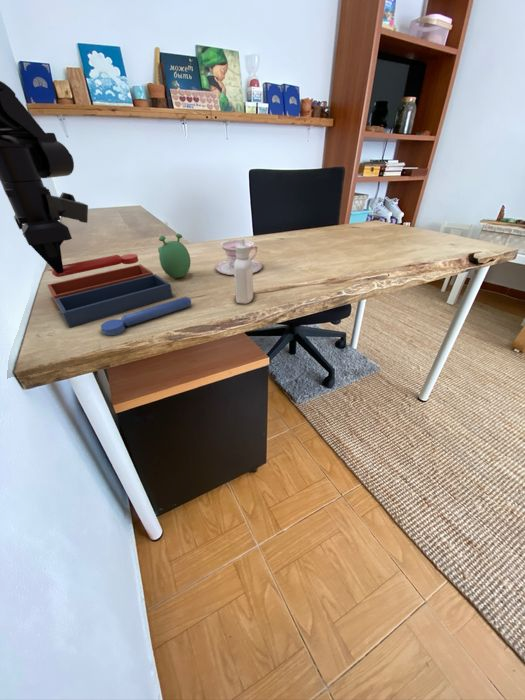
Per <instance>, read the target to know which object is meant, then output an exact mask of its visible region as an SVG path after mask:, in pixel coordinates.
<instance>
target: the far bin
mask: <svg viewBox="0 0 525 700" xmlns="http://www.w3.org/2000/svg"><path fill="white" fill-rule="evenodd" d="M150 275H154V272H153V271H152V270H150V269H148V268H147V267H145V266H144V265H142V264H141V263H140V264H135V265H132V266H131V265H130V266H126V267H122V268H116V269H112V270H108V271H107V270H106V271H104V272H103V271H102V272H99V273H94V274H89V275H85V276H81V277H75V278H71V279H68V280H67V279H66V280H62V281H57V282H53V283H49V284H46V285H47V287H48V290H49V292H50V294H51V297H52V298H53V300H54V303H55V304H56V306H57V308H58V309H59V307H58V304H57V302H56V300H55V299H56V298H60V297H64V296H68V295H72V294H76V293H80V292H84V291H89V290H93V289H97V288H101V287H105V286H109V285H113V284H117V283H121V282H125V281H129V280H133V279H138V278H142V277H146V276H150Z"/></svg>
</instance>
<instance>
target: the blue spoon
mask: <svg viewBox="0 0 525 700" xmlns="http://www.w3.org/2000/svg"><path fill="white" fill-rule="evenodd" d="M191 305H192V300H191V298H190V297H188V296H183V297H180V298H176V299H173V300H170V301H167V302H164V303H161V304H157V305H154V306H150V307H147V308H144V309H140V310H138V311H134V312H131V313H127V314H124V315H122V317H121V318H119V319H117V318H115V319H109V320H106V321H105V322H103V323H101V325H100V329H101V332H102V334H103V335H104V336H117V335H119V334H121V333H123V332H124V331H125V330H126V327H132V326H134V325H137V324H140V323H143V322H146V321H149V320H153V319H155V318H159V317H162V316H164V315H168V314H171V313H174V312H177V311H180V310H183V309H186V308H189V307H191Z"/></svg>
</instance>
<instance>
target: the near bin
mask: <svg viewBox="0 0 525 700" xmlns="http://www.w3.org/2000/svg"><path fill="white" fill-rule="evenodd" d="M170 298H174V297H173V293H172V287H171V284H170V283H169V282H168V281H166V280H164V279H163V278H161V277H160V276H159V275H157V274H156V273H153V275H150V276H146V277H142V278H138V279H133V280H129V281H125V282H121V283H117V284H113V285H109V286H105V287H101V288H97V289H93V290H89V291H84V292H80V293H76V294H72V295H68V296H64V297H60V298H56V299H55V300H56V302H57V304H58V306H57V308H58V307H59V308H58V309H59V311H60V314H61V315H62V317H63V319H64V320H65V322H66V324H67V326H68V328H73V327H76V326H80V325H84V324H86V323H90V322H93V321H97V320H100V319H103V318H107V317H110V316H113V315H117V314H121V313H123V312H126V311H130V310H133V309H136V308H137V309H138V308H140V307H144V306H147V305H150V304H154V303H157V302H161V301H163V300H167V299H170ZM55 300H54V301H55ZM56 302H55V303H56ZM57 304H56V305H57Z"/></svg>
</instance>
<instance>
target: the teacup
mask: <svg viewBox="0 0 525 700" xmlns="http://www.w3.org/2000/svg"><path fill="white" fill-rule="evenodd" d="M244 242H245V244H246V245H248V246H249V254H251V251H253V250H255V251H254V254H253V256H252V257H250V259H251V260H252V269H253V274H255V273H258V272H259V271H260V270H262V268H263V264H262V263H261V262H259V260H255V257H256V256H257V254H258V246H254V245H255V242H253V241H251V240H246V239H244ZM239 243H240V239H234V240H232V239H231V240H226V241H223V242H221V243H220V244H219V245H220V247H221V248H222V249H223V250H224V251H225V255H226V256H227V259H226V260H223V261H220V262H219V263H217V264H216V265H215V270H216V271H217V272H218V273H221V274H223V275H227V276H228V275H229V276H234V262H235V260H236V259H237V257H236V246H237V245H239Z"/></svg>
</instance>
